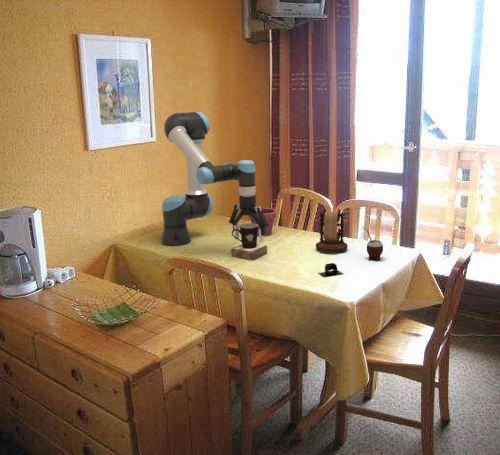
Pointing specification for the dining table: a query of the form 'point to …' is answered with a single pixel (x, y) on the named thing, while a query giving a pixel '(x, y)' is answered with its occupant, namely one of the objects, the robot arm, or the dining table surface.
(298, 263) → the dining table surface
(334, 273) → the black hat
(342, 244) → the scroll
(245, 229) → the coffee mug
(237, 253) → the plinth
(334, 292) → the dining table surface
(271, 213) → the plant pot
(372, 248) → the mate gourd
